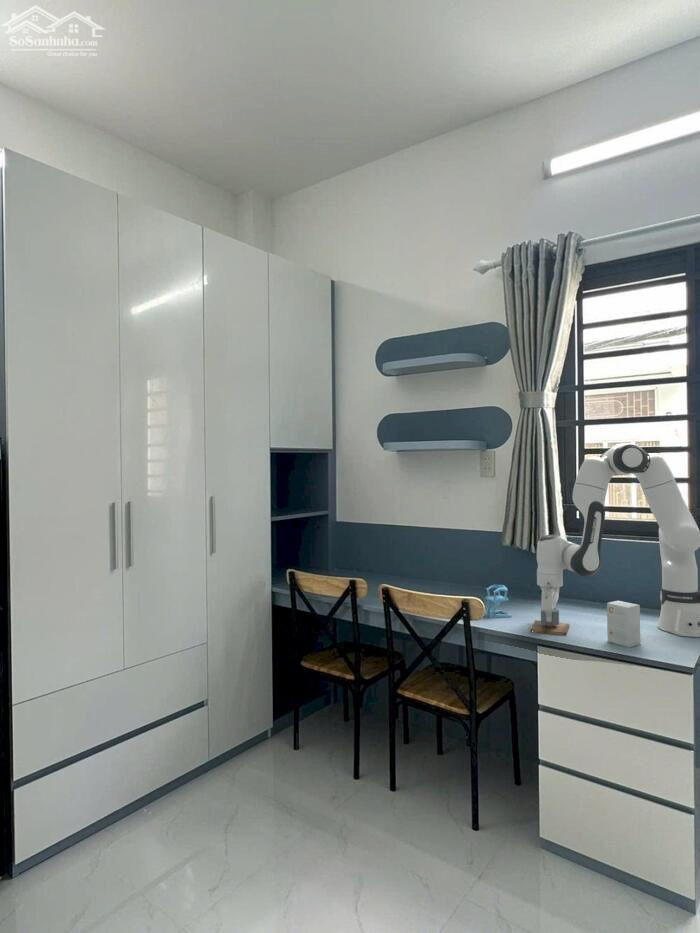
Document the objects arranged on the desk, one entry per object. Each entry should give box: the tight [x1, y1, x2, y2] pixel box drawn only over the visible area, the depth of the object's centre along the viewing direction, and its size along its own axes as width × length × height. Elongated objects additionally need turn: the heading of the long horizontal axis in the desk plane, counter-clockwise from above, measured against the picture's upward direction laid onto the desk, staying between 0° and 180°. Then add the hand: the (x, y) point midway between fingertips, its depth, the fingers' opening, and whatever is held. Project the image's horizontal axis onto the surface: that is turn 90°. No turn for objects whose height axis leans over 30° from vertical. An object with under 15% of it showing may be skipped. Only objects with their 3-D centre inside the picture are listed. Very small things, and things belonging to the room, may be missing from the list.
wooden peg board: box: [530, 620, 571, 637], centre depth 211 cm, size 12×12×4 cm
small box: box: [606, 600, 641, 648], centre depth 195 cm, size 8×6×13 cm
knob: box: [540, 607, 560, 626], centre depth 211 cm, size 6×6×5 cm
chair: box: [485, 584, 513, 619], centre depth 230 cm, size 8×8×12 cm
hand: (550, 618), depth 211 cm, fingers closed on knob, 6 cm apart
